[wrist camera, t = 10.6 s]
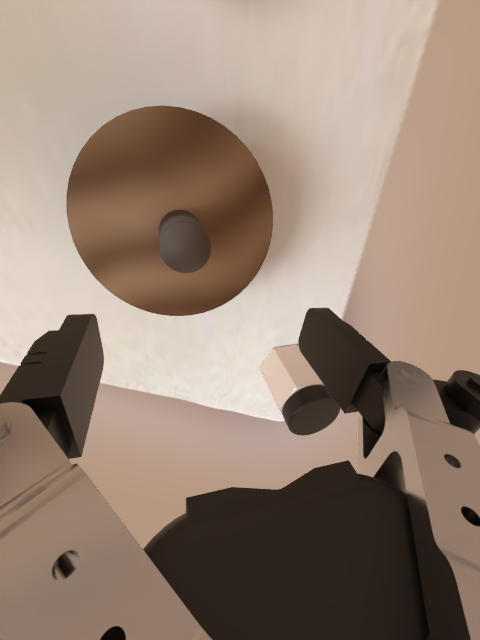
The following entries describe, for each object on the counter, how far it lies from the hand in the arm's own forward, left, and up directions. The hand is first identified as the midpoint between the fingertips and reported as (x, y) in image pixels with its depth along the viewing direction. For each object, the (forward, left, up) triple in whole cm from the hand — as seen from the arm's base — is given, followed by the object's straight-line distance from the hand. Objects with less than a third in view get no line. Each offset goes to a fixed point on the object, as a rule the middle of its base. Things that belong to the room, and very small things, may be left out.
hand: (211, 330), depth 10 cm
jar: (+30, +4, -24) cm, 38 cm away
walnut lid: (0, 0, -17) cm, 17 cm away
